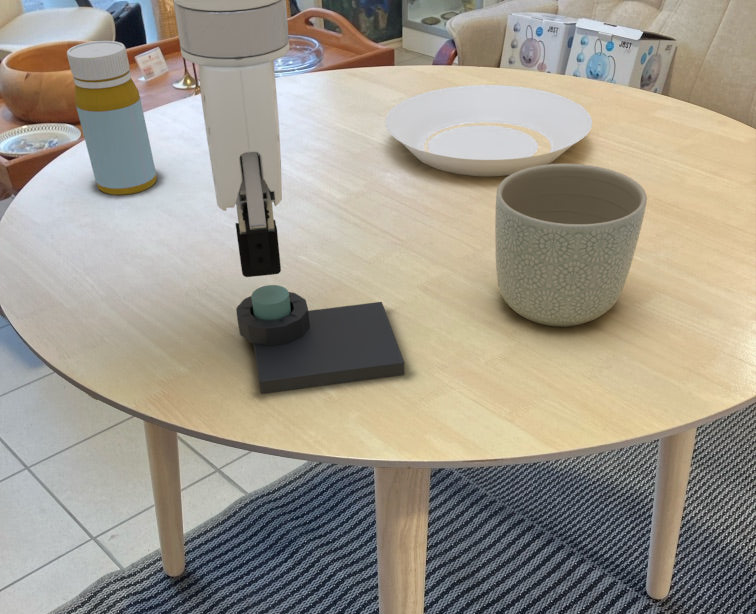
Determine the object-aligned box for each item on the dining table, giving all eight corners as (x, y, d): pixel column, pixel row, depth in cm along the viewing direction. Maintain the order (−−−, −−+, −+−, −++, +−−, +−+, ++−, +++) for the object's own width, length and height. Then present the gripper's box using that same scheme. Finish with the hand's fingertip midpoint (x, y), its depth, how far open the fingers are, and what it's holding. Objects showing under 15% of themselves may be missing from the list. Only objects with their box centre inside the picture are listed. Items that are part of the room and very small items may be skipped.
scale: (249, 400, 70) (243, 364, 68) (239, 329, 78) (234, 295, 76) (404, 379, 72) (404, 343, 69) (380, 311, 79) (379, 277, 77)
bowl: (577, 199, 95) (581, 167, 93) (362, 181, 101) (361, 150, 98) (595, 119, 113) (600, 90, 110) (411, 107, 118) (411, 80, 116)
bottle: (170, 181, 103) (142, 44, 92) (130, 203, 98) (96, 62, 88) (126, 170, 105) (95, 36, 95) (85, 192, 101) (48, 54, 91)
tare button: (255, 324, 73) (252, 305, 71) (252, 305, 75) (249, 287, 74) (292, 319, 73) (290, 301, 72) (288, 300, 75) (286, 282, 74)
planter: (548, 359, 73) (563, 240, 65) (462, 298, 81) (467, 185, 73) (654, 315, 77) (679, 199, 70) (563, 262, 85) (577, 152, 78)
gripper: (176, 2, 64) (212, 234, 76) (179, 65, 53) (220, 323, 66) (276, -4, 65) (295, 227, 77) (300, 57, 54) (317, 312, 67)
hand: (261, 270), depth 71 cm, fingers closed
